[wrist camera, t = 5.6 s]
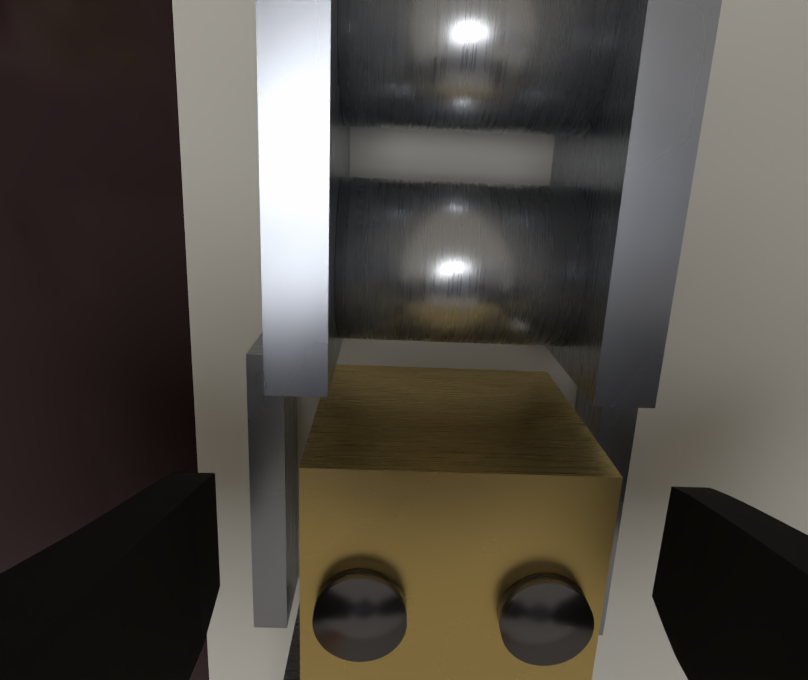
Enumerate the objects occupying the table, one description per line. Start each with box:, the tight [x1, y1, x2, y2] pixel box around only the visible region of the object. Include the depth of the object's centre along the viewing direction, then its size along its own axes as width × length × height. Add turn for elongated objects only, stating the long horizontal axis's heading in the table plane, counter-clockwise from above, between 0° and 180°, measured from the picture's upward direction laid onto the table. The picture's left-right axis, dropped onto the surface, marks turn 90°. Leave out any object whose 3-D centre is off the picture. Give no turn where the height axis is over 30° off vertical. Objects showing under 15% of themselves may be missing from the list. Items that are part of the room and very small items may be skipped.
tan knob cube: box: [299, 364, 623, 680], centre depth 10 cm, size 4×4×4 cm
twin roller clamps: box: [246, 0, 722, 680], centre depth 11 cm, size 6×18×4 cm, turn 177°
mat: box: [172, 0, 808, 680], centre depth 12 cm, size 14×18×1 cm
